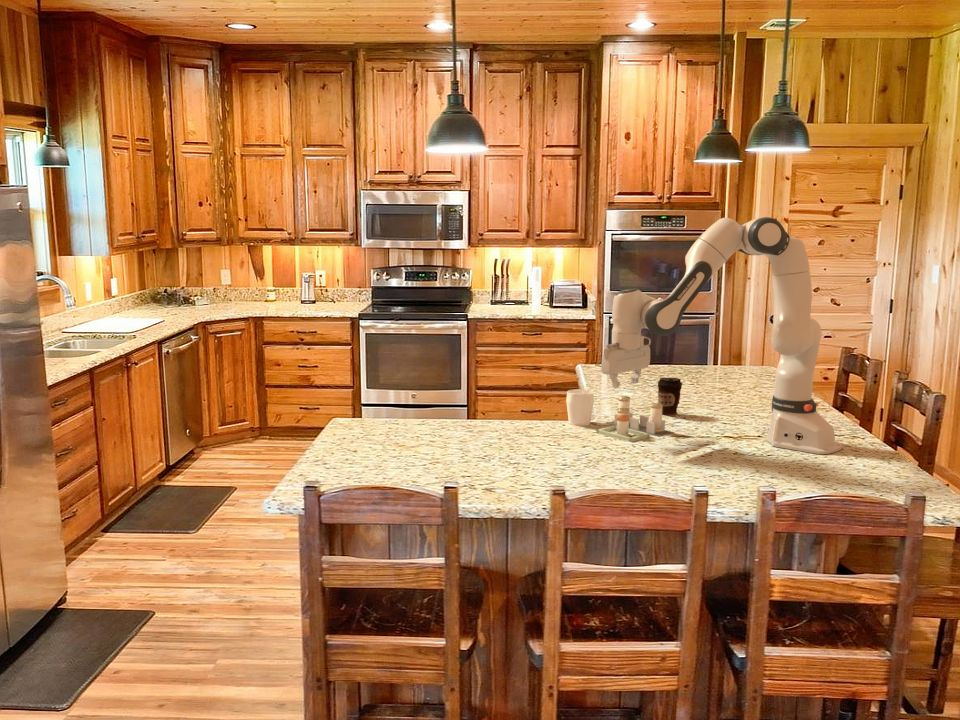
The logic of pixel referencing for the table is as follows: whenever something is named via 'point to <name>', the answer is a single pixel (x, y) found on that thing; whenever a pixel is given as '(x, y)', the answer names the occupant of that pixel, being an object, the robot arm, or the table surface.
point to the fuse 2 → (656, 416)
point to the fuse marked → (623, 421)
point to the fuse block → (643, 425)
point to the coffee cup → (669, 395)
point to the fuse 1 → (624, 402)
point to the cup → (579, 406)
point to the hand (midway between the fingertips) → (625, 385)
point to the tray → (631, 439)
